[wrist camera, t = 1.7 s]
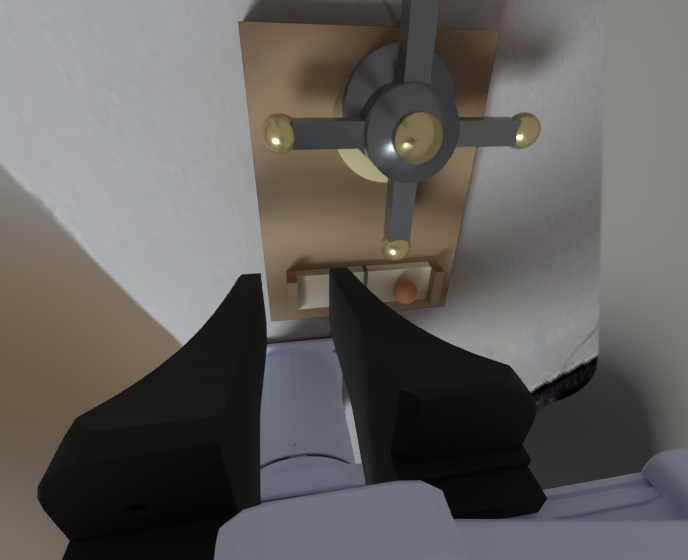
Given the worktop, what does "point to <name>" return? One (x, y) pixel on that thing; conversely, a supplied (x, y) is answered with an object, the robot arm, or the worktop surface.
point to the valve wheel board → (349, 169)
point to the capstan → (401, 120)
